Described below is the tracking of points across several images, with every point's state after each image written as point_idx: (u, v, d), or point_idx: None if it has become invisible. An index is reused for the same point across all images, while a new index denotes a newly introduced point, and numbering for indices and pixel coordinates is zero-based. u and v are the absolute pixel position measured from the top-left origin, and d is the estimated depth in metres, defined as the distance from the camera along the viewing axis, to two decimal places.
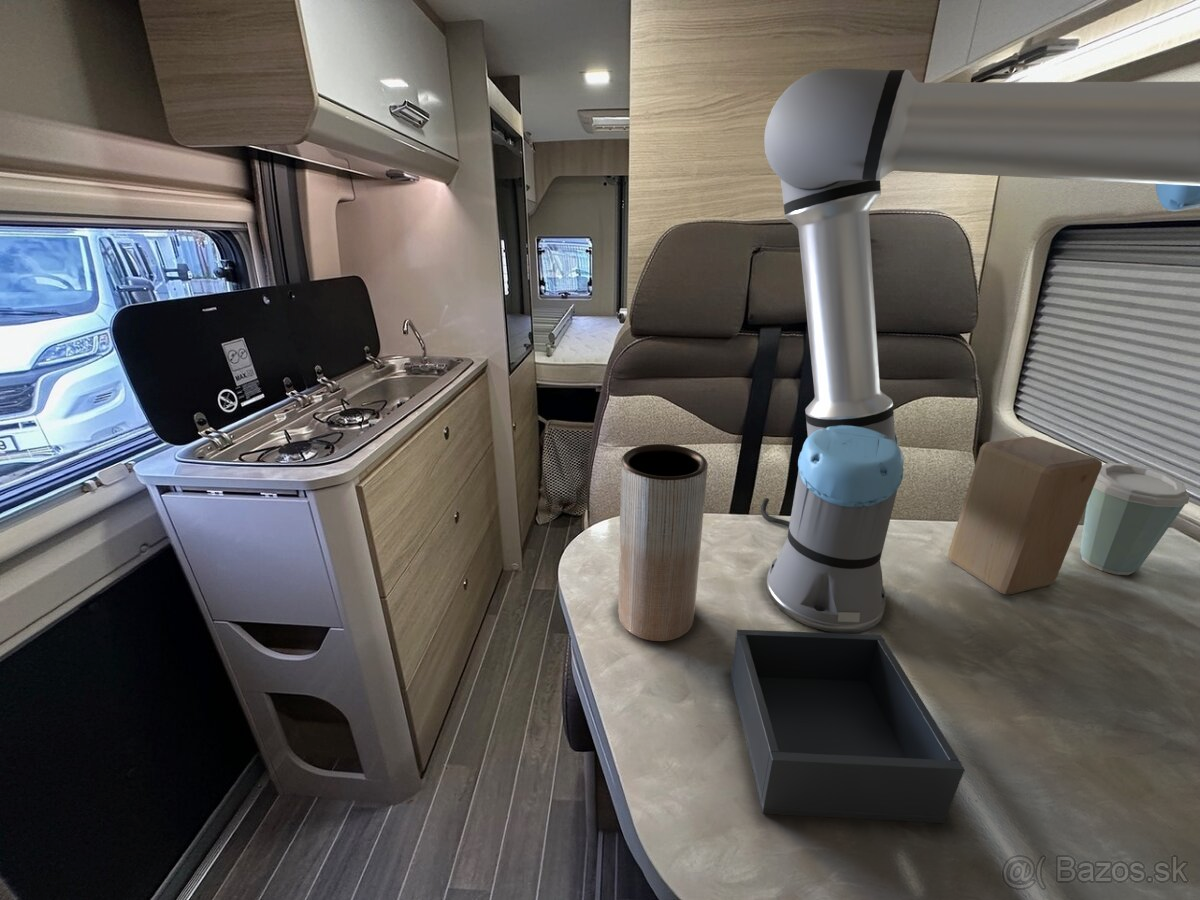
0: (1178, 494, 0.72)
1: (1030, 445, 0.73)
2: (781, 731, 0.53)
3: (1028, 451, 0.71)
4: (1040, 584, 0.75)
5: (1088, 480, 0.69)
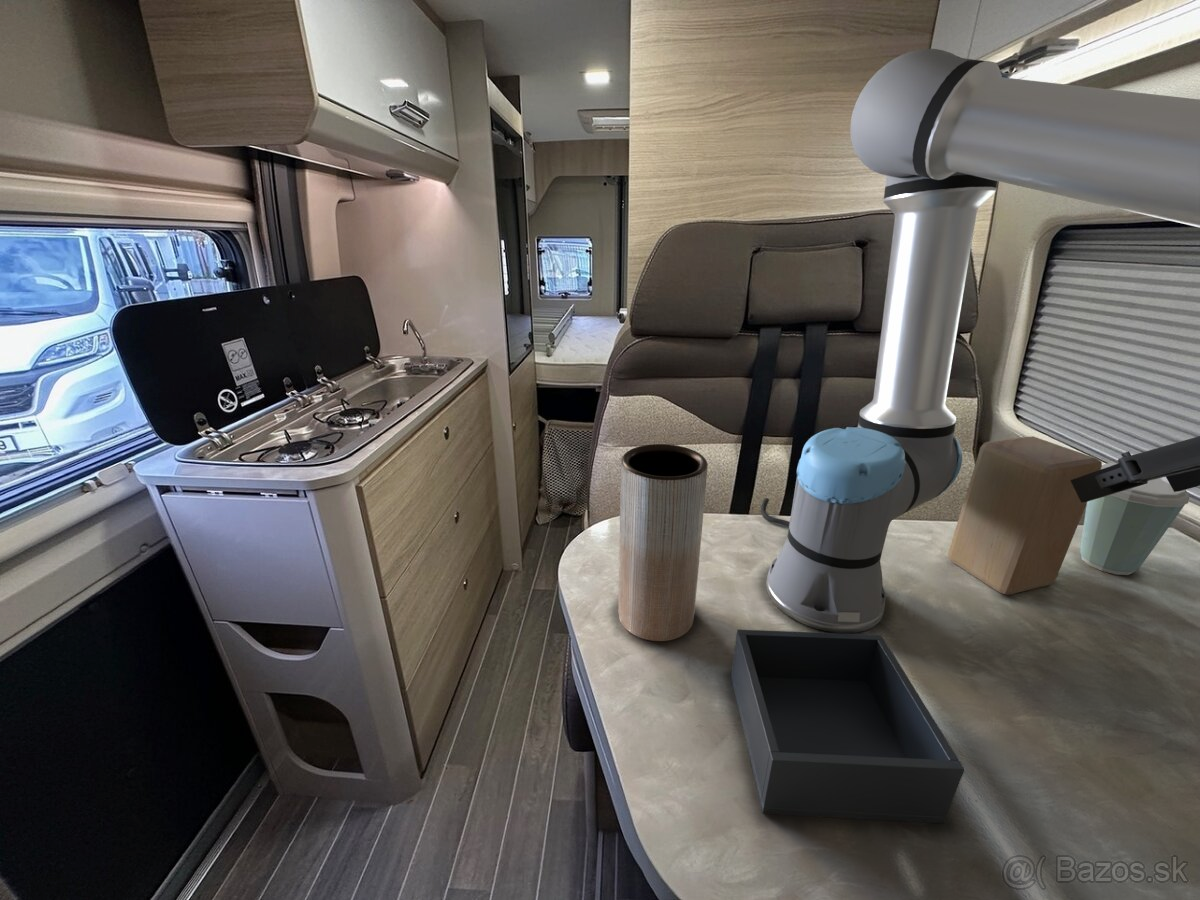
0: (1178, 494, 0.72)
1: (1029, 445, 0.73)
2: (781, 731, 0.53)
3: (1028, 451, 0.71)
4: (1040, 584, 0.75)
5: None
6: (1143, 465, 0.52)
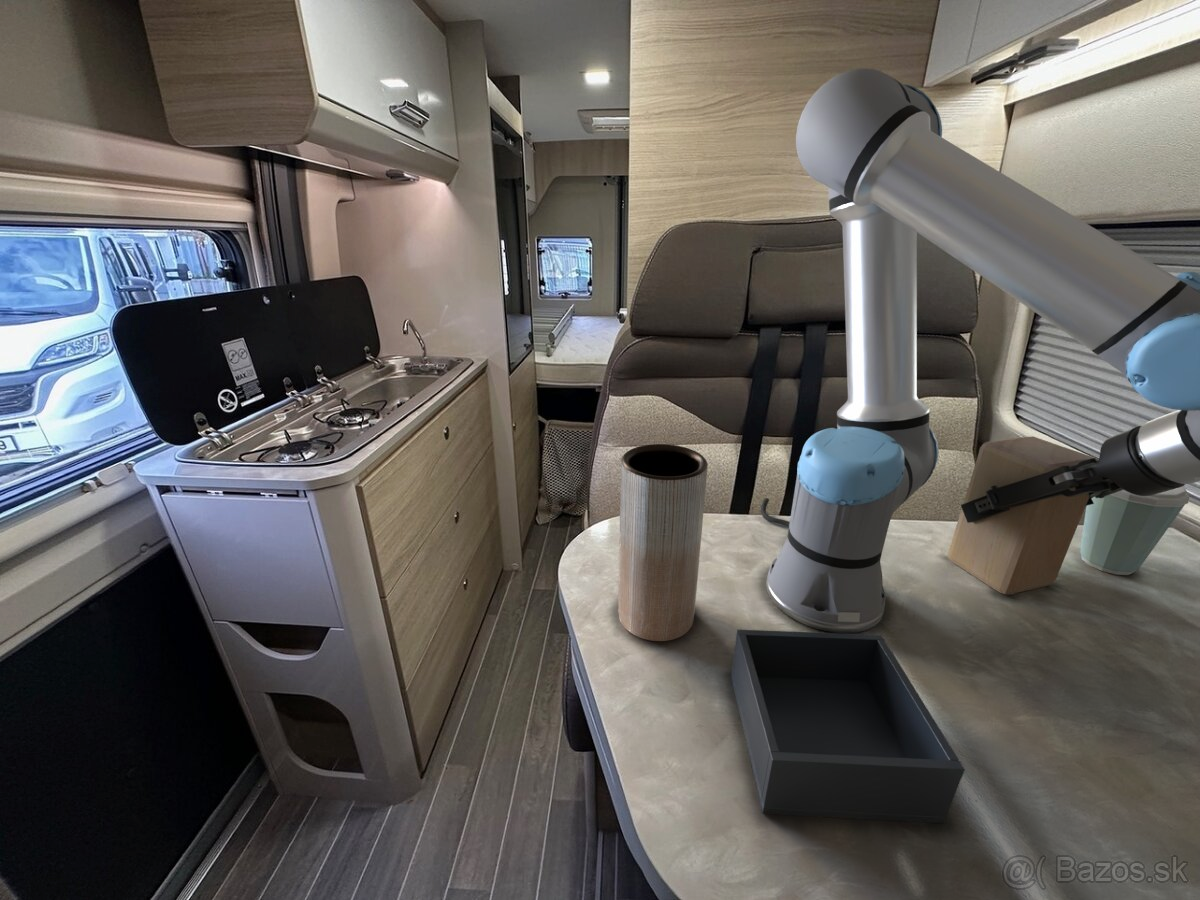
0: (1178, 494, 0.72)
1: (1029, 445, 0.73)
2: (781, 731, 0.53)
3: (1028, 451, 0.71)
4: (1040, 584, 0.75)
5: None
6: (1000, 497, 0.69)
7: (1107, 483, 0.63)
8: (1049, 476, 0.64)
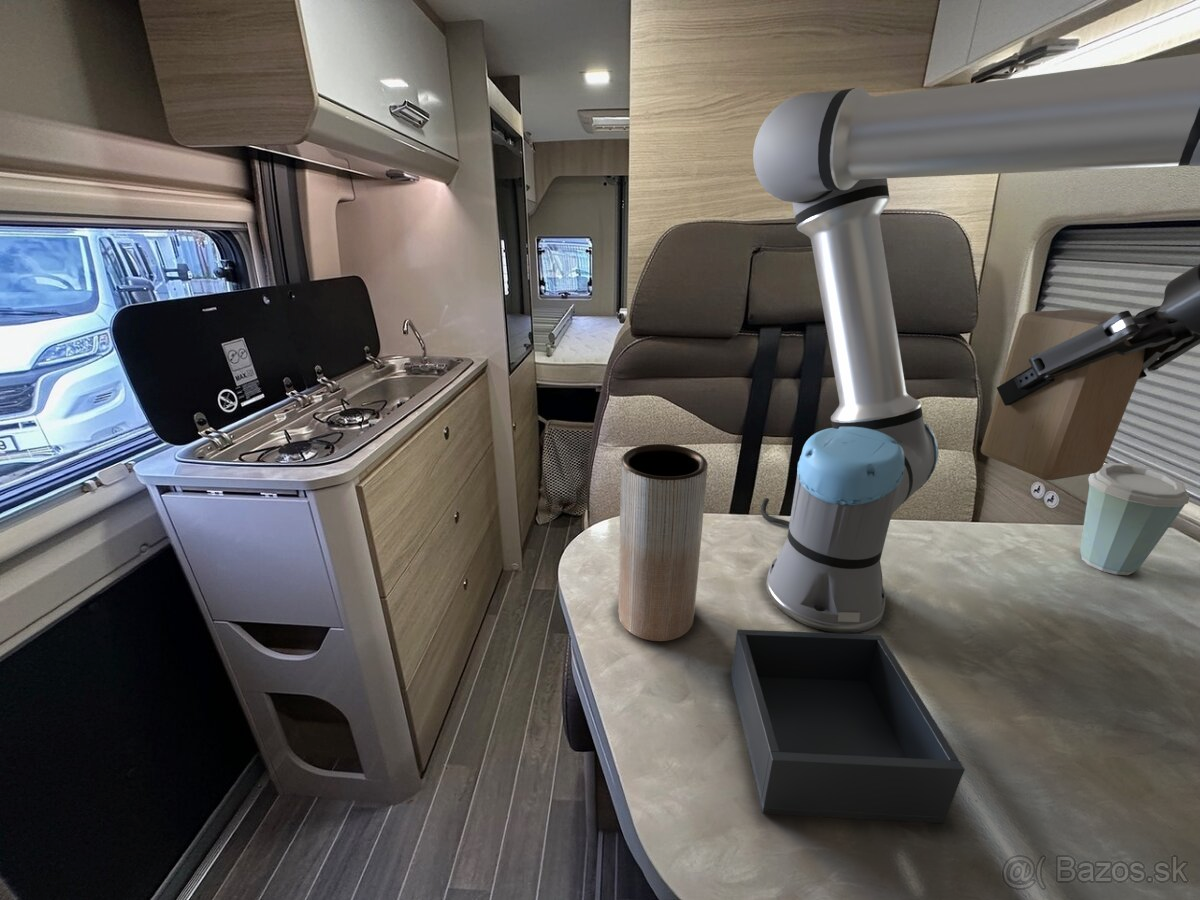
0: (1178, 494, 0.72)
1: (1075, 313, 0.66)
2: (781, 731, 0.53)
3: (1075, 315, 0.64)
4: (1086, 470, 0.68)
5: None
6: (1046, 361, 0.62)
7: (1171, 331, 0.56)
8: (1104, 327, 0.57)
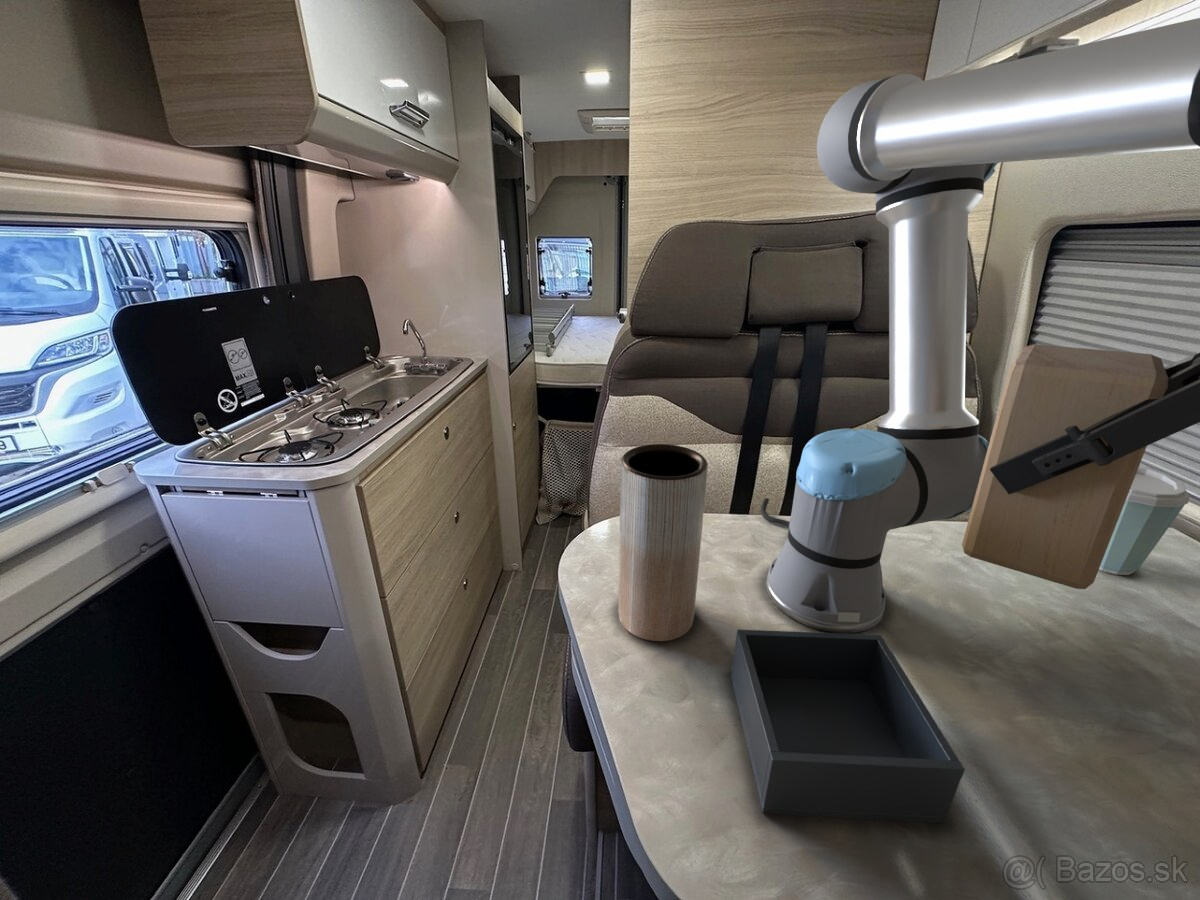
0: (1178, 494, 0.72)
1: (1066, 354, 0.47)
2: (781, 731, 0.53)
3: (1086, 361, 0.45)
4: None
5: None
6: (1114, 442, 0.40)
7: None
8: None
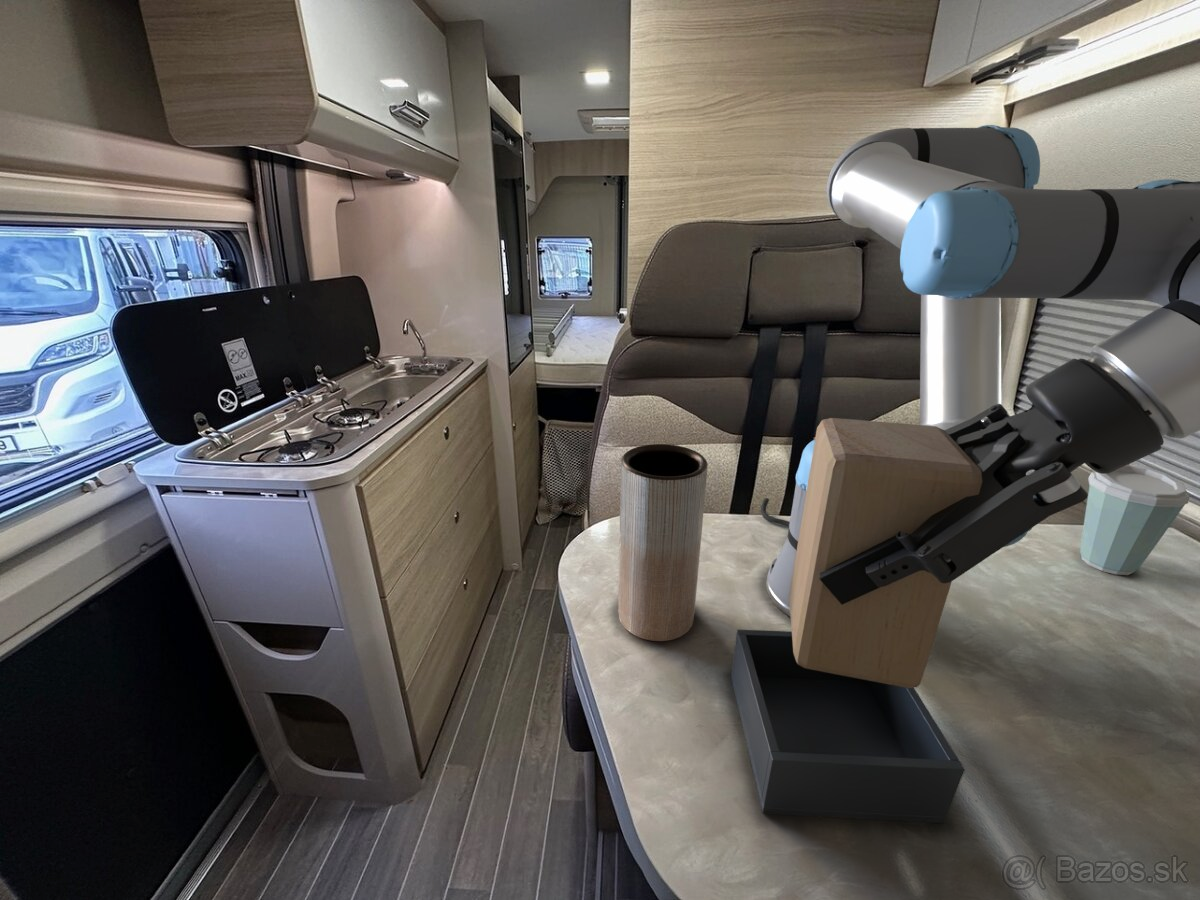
0: (1178, 494, 0.72)
1: (871, 436, 0.41)
2: (781, 731, 0.53)
3: (898, 448, 0.39)
4: None
5: None
6: (955, 557, 0.34)
7: None
8: (1032, 493, 0.33)
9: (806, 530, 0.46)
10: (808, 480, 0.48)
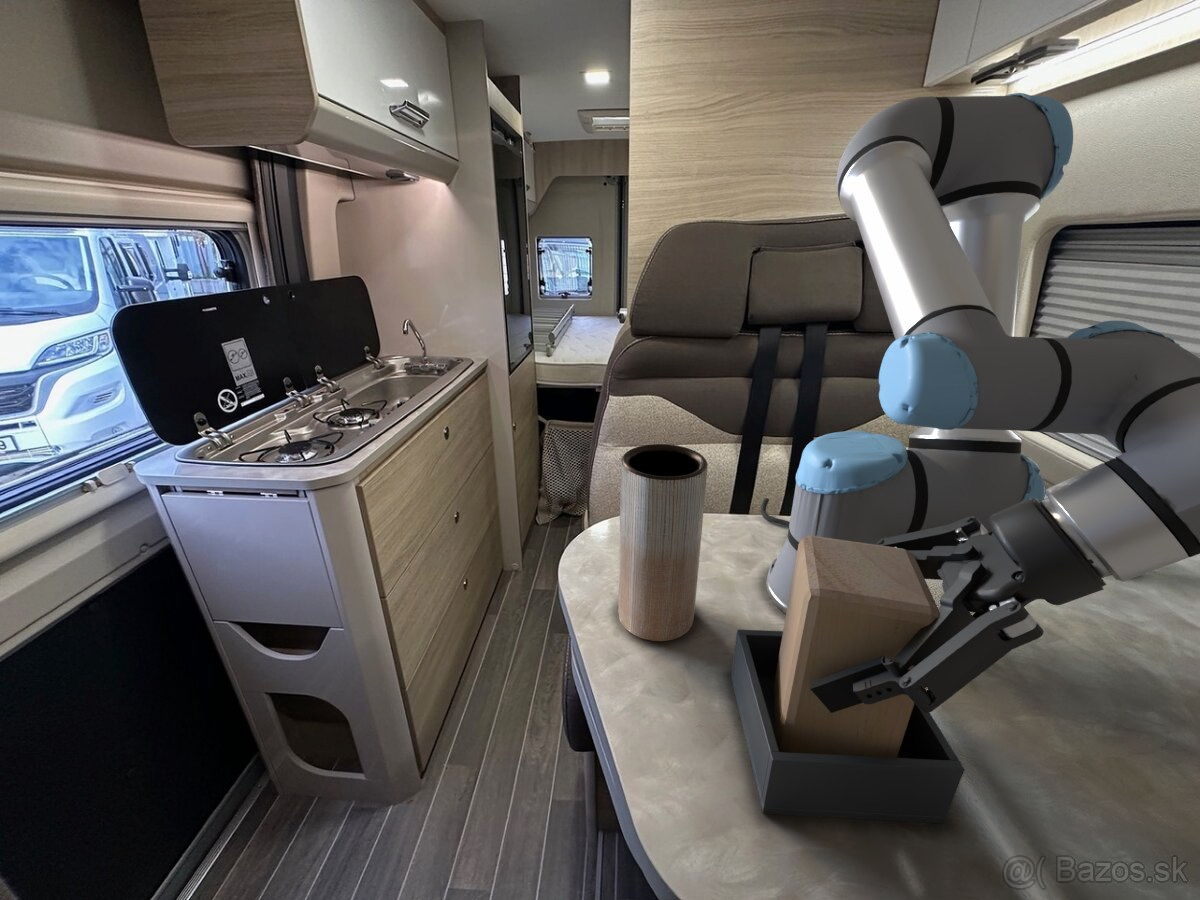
0: None
1: (845, 565, 0.46)
2: None
3: (867, 582, 0.44)
4: None
5: None
6: (934, 689, 0.37)
7: None
8: (997, 629, 0.36)
9: (787, 637, 0.51)
10: None
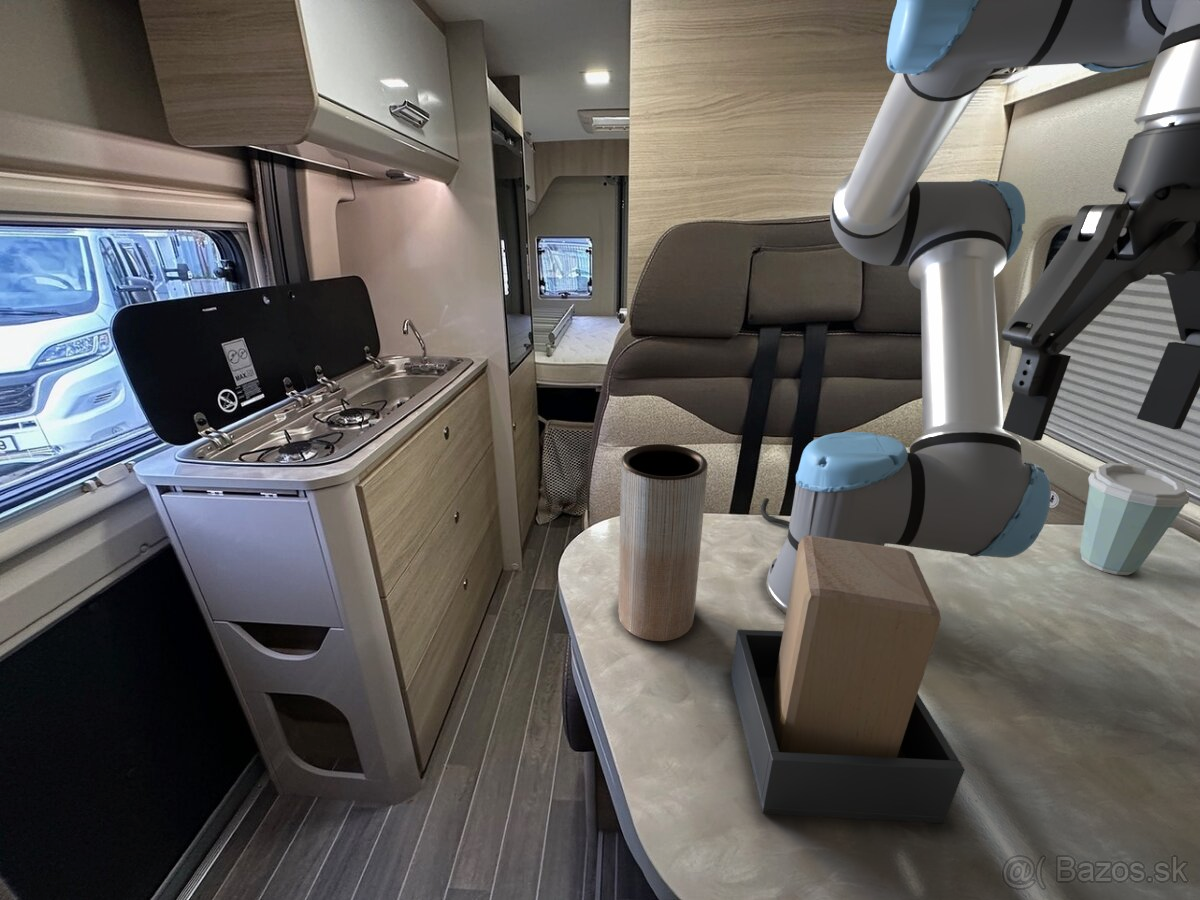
0: (1178, 494, 0.72)
1: (845, 565, 0.46)
2: None
3: (867, 582, 0.44)
4: None
5: None
6: (1028, 318, 0.38)
7: (1180, 221, 0.35)
8: (1075, 238, 0.37)
9: (787, 637, 0.51)
10: None
